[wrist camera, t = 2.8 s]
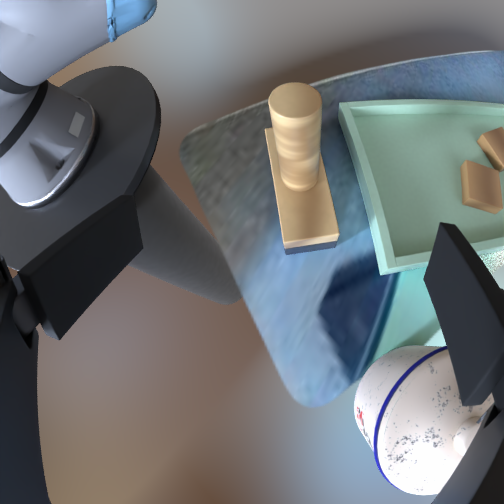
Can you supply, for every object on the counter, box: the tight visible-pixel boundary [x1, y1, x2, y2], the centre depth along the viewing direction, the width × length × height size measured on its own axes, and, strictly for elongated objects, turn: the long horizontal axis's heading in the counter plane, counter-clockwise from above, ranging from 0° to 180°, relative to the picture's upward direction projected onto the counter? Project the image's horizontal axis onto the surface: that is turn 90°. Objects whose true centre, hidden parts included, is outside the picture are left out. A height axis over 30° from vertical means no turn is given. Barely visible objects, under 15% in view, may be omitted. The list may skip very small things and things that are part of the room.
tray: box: [338, 99, 504, 275], centre depth 22 cm, size 26×16×2 cm, turn 97°
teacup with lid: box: [354, 345, 494, 495], centre depth 14 cm, size 12×9×12 cm
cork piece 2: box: [460, 160, 503, 214], centre depth 22 cm, size 4×4×2 cm
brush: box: [265, 82, 340, 255], centre depth 20 cm, size 4×10×12 cm, turn 7°
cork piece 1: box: [477, 127, 504, 173], centre depth 22 cm, size 4×4×2 cm
